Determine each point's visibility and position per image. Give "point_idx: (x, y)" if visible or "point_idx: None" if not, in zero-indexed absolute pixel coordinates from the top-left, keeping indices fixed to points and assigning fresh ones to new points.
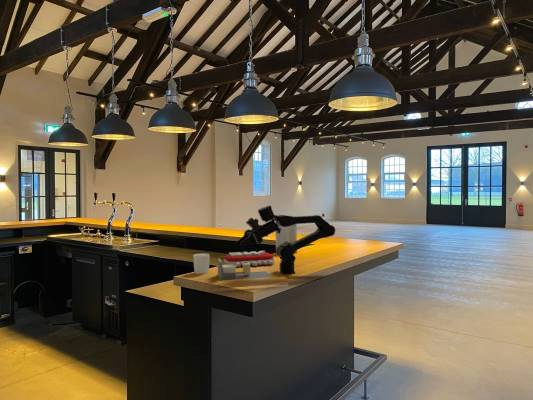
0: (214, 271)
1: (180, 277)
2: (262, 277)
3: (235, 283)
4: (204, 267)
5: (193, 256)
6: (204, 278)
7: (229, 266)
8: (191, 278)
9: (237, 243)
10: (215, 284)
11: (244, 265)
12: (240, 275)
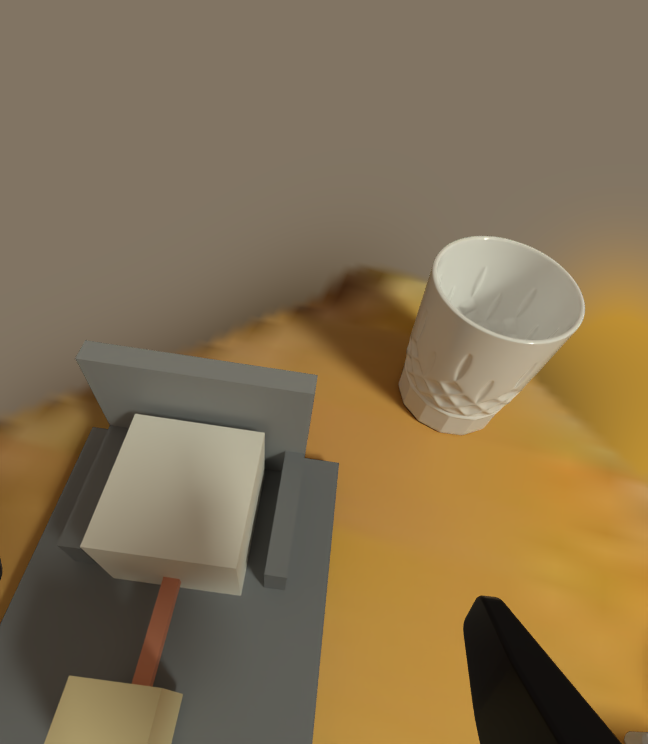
0: (555, 504)
1: (401, 282)
2: None
3: (3, 538)
4: (412, 360)
5: (486, 244)
6: None
7: (147, 485)
8: (350, 320)
9: (471, 639)
10: (89, 396)
11: (69, 688)
12: (177, 657)
